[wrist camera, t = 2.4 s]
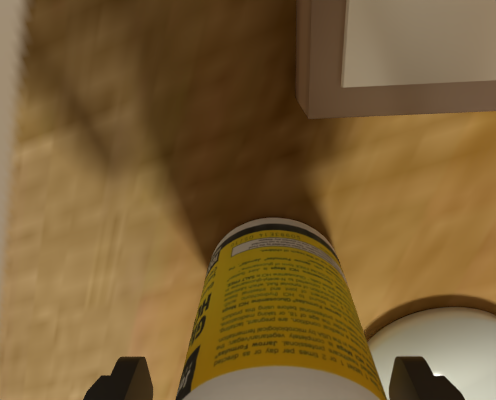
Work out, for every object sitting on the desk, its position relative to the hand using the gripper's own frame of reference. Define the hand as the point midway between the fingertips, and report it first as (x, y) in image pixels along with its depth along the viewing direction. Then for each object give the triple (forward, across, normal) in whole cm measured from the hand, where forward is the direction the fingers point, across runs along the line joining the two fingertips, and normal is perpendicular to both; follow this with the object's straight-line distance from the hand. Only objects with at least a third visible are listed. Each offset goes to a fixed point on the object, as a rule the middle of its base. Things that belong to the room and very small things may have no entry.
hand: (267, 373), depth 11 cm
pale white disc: (+6, -10, +7) cm, 13 cm away
